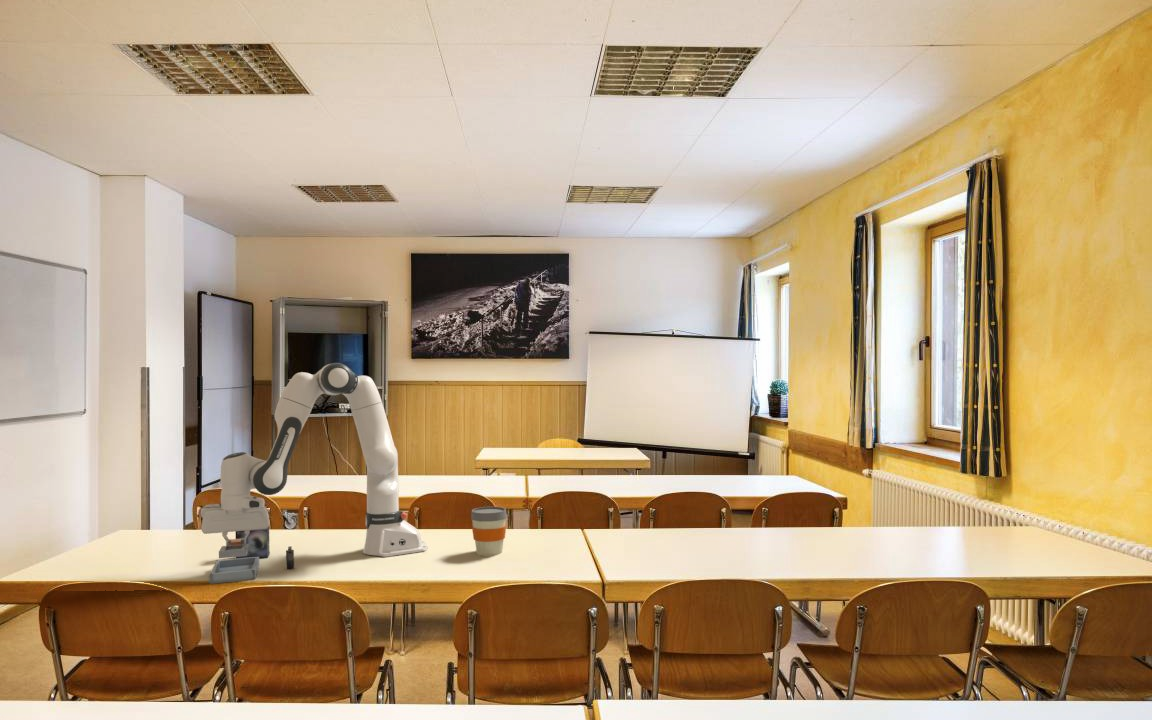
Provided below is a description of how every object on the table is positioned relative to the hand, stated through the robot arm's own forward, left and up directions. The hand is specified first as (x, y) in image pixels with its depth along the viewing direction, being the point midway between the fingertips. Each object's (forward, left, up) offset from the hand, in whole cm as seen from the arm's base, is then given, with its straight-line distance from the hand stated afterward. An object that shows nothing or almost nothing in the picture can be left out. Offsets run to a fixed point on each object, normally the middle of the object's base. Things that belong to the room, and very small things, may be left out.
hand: (236, 544), depth 247 cm
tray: (0, +4, -9) cm, 10 cm away
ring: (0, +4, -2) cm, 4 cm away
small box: (-4, -17, -9) cm, 20 cm away
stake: (-17, +4, -9) cm, 19 cm away
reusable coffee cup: (-83, +9, -9) cm, 84 cm away
